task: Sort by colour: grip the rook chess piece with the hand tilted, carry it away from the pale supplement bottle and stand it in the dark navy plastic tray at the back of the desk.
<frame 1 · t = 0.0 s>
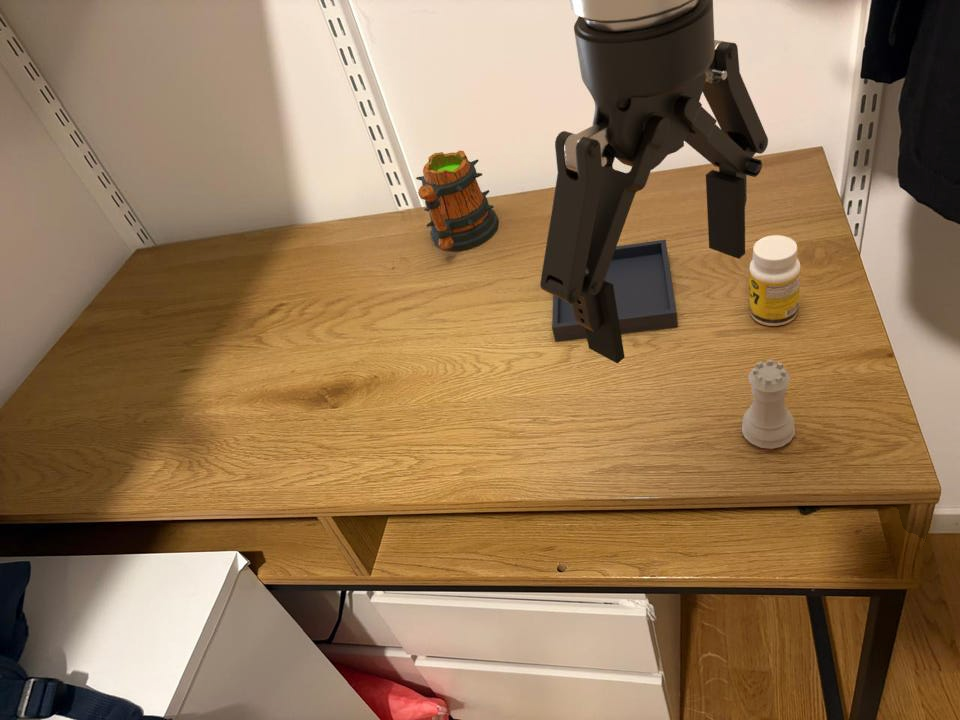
hand: (669, 300, 55), 19 cm above the table, tool pointing down, fingers open, 13 cm apart
dark tray: (613, 295, 85), on the table
rook chess piece: (767, 433, 67), on the table
mug: (462, 237, 102), on the table
supplement bottle: (773, 313, 77), on the table
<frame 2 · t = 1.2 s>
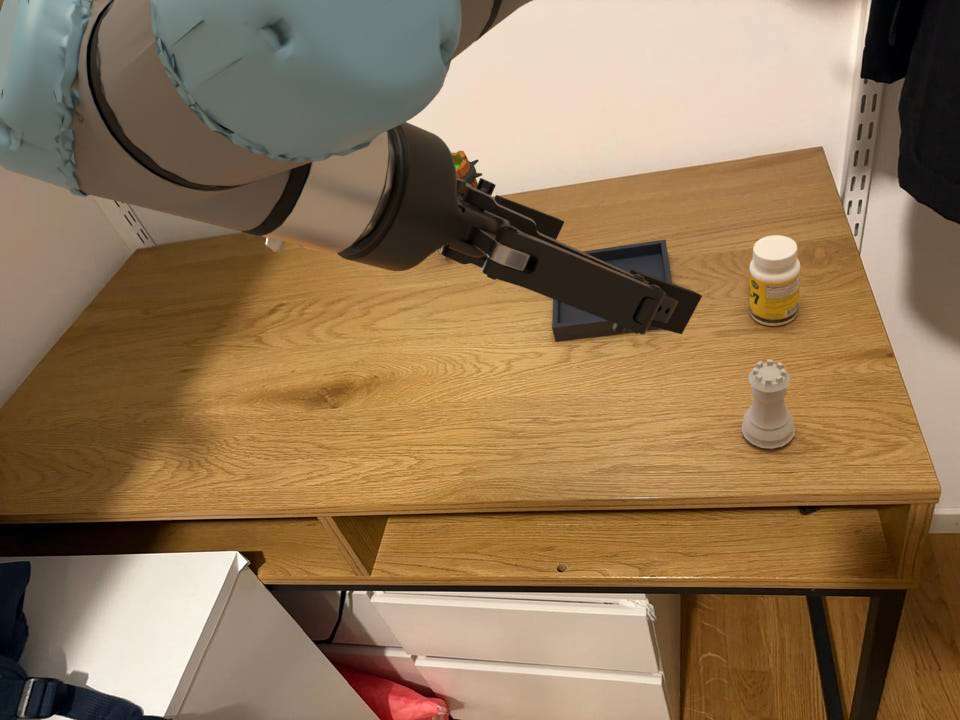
hand: (614, 271, 51), 23 cm above the table, tool tilted 45°, fingers open, 13 cm apart
nothing on the table moved.
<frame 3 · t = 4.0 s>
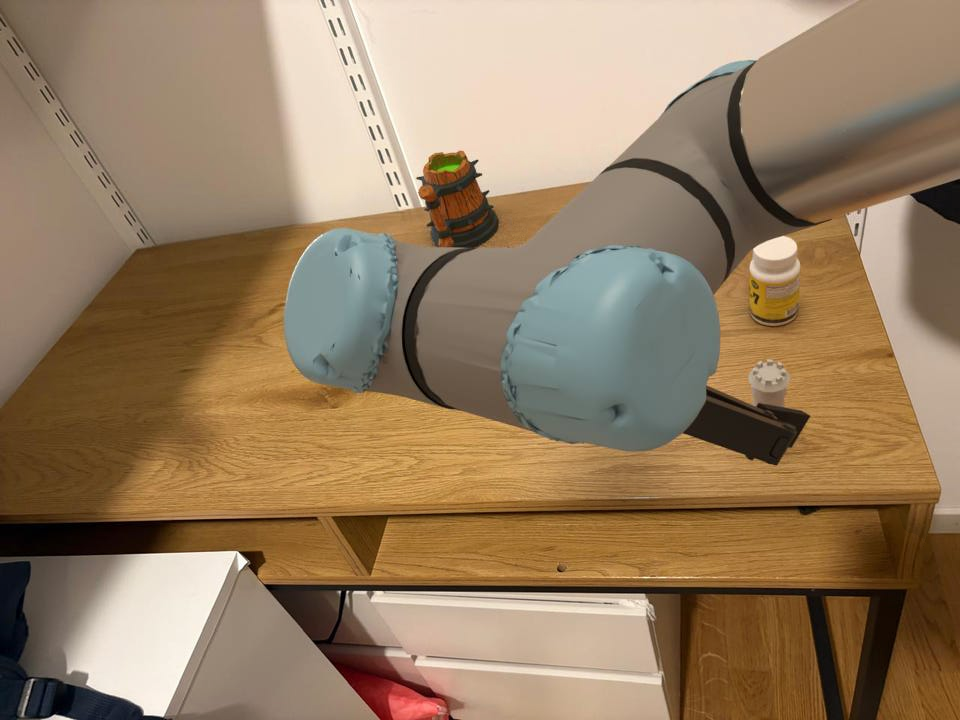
hand: (723, 383, 58), 10 cm above the table, tool tilted 45°, fingers open, 13 cm apart
nothing on the table moved.
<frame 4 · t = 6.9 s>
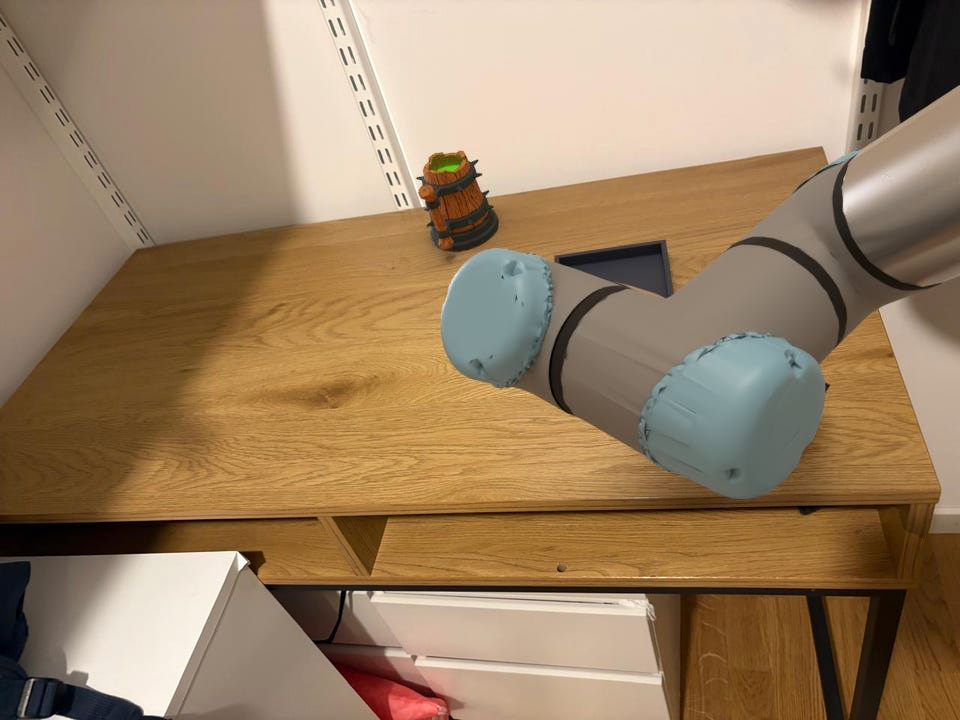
hand: (798, 385, 66), 3 cm above the table, tool tilted 45°, fingers closed on rook chess piece, 3 cm apart
rook chess piece: (767, 433, 67), on the table, touching gripper
everything else where it was.
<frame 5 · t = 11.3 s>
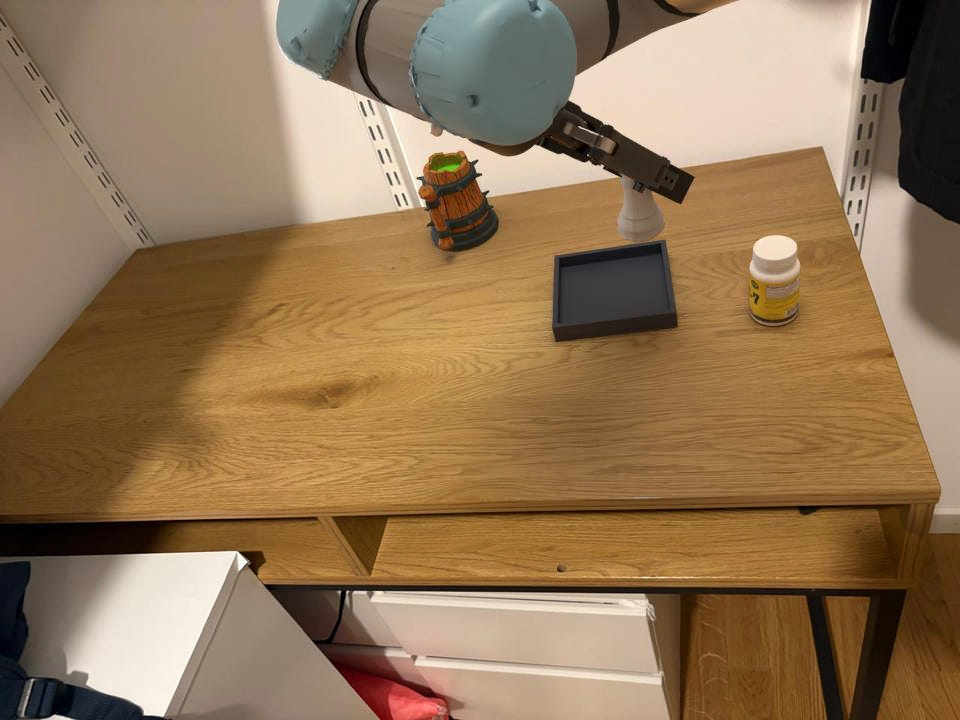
hand: (668, 182, 70), 16 cm above the table, tool tilted 45°, fingers closed on rook chess piece, 3 cm apart
rook chess piece: (641, 232, 71), point 13 cm above the table, touching gripper
everything else where it was.
when the fingers open (4 cm above the table, at t = 15.9 s): rook chess piece stays where it is, resting on dark tray.
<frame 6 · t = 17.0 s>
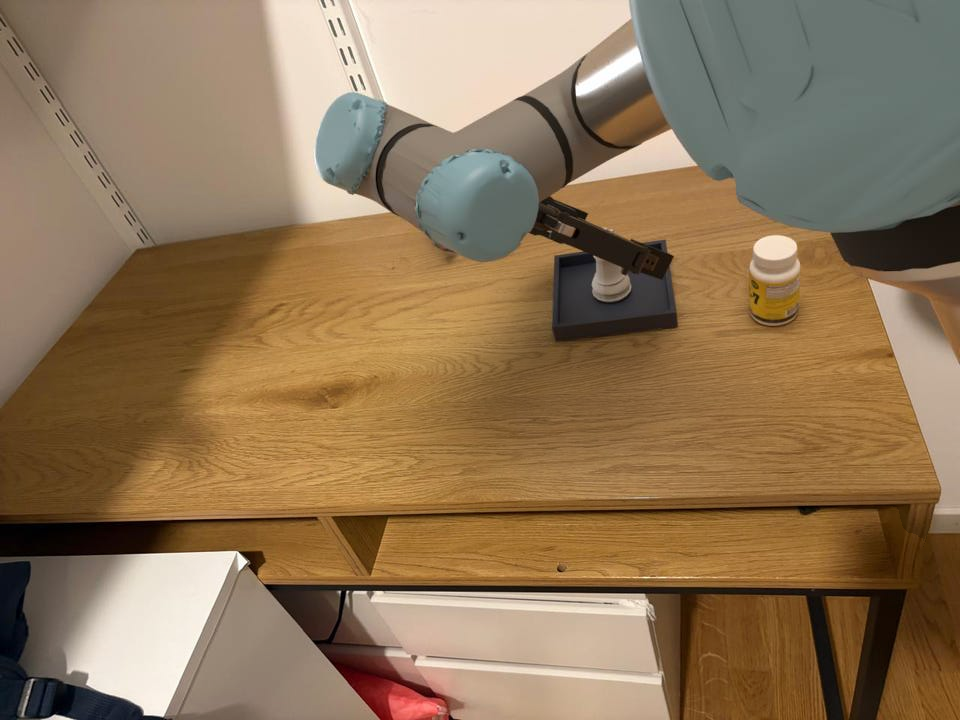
hand: (621, 243, 82), 6 cm above the table, tool tilted 45°, fingers open, 13 cm apart
rook chess piece: (612, 293, 85), resting on dark tray
everything else where it was.
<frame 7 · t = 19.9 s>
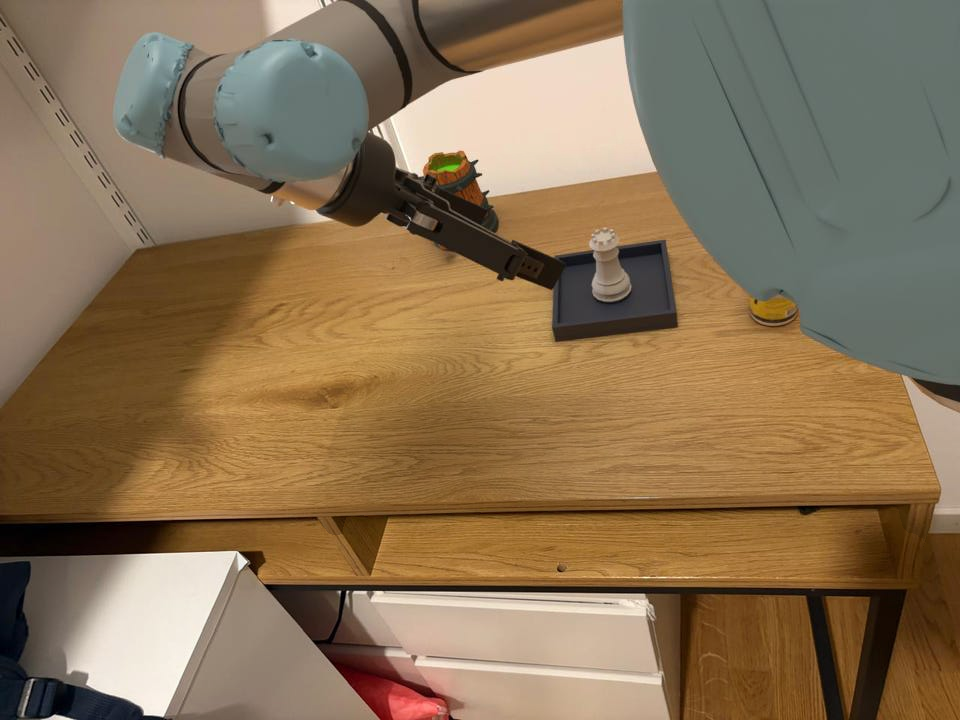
hand: (516, 246, 73), 14 cm above the table, tool tilted 40°, fingers open, 13 cm apart
nothing on the table moved.
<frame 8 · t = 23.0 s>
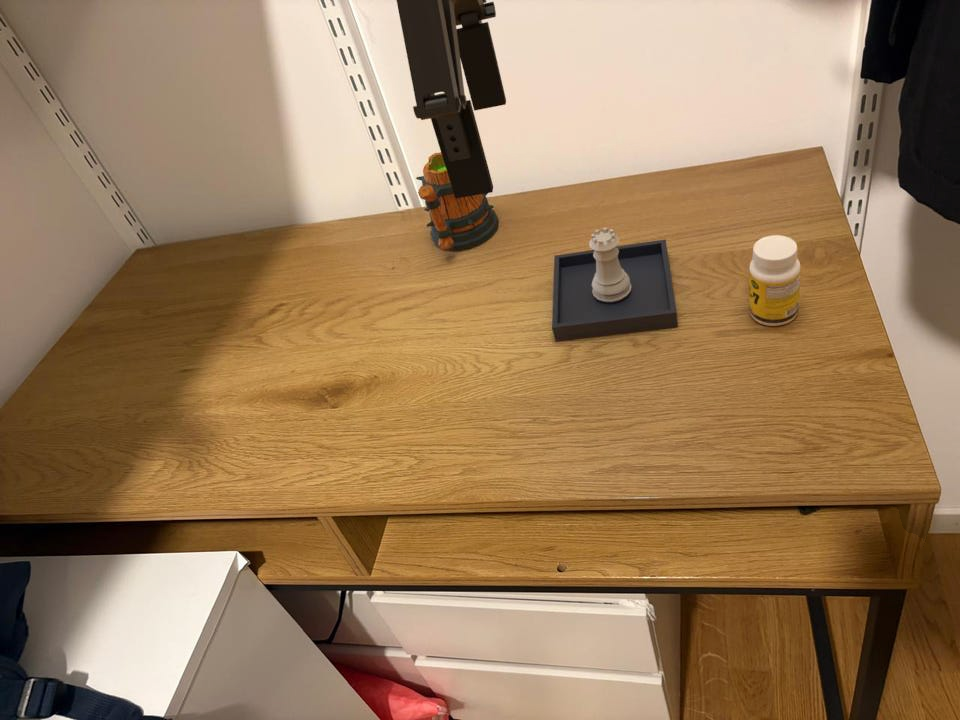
hand: (483, 146, 57), 29 cm above the table, tool pointing down, fingers open, 13 cm apart
nothing on the table moved.
at the end: rook chess piece inside the target area in the dark tray (0.0 cm from its centre), point 0.4 cm above the dark tray's base; rook chess piece tilted 0°; supplement bottle moved 0.2 cm from its start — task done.
